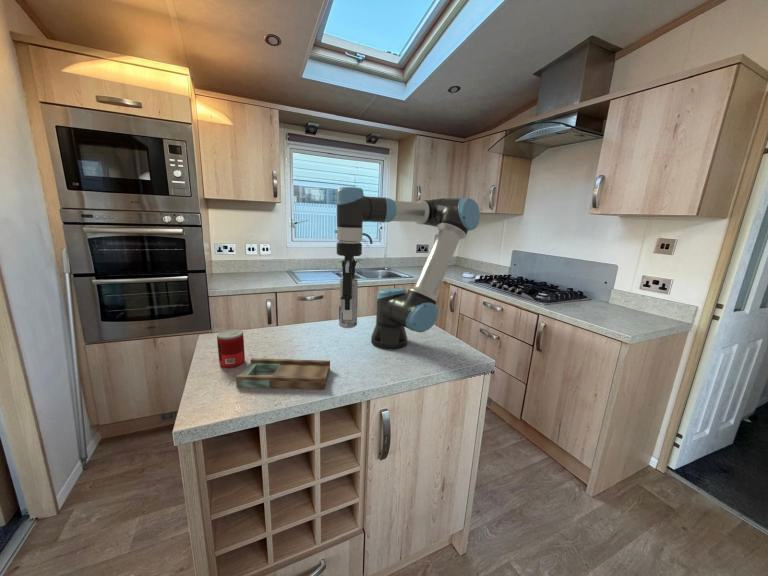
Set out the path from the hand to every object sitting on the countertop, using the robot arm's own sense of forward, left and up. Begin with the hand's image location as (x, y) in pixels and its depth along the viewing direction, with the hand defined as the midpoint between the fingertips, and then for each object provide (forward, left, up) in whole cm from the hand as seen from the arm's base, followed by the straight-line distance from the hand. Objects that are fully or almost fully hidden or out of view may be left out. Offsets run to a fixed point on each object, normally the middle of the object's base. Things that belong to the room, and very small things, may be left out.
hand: (348, 315), depth 97 cm
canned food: (+40, -6, -21) cm, 46 cm away
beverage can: (0, 0, -4) cm, 4 cm away
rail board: (+19, +3, -21) cm, 28 cm away
